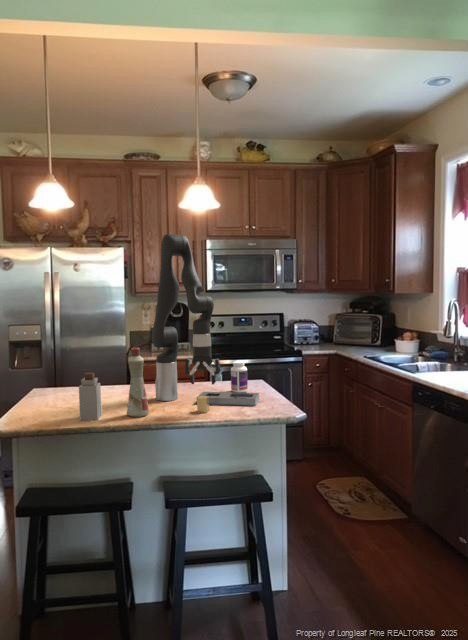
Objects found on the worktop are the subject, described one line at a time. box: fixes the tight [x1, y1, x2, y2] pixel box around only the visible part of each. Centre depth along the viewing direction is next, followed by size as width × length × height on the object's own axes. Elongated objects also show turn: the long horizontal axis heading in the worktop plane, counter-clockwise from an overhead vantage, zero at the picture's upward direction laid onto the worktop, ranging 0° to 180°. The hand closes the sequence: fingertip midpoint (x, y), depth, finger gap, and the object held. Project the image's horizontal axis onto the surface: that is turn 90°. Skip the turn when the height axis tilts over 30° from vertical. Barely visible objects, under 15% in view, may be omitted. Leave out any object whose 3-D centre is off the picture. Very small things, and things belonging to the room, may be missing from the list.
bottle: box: [126, 346, 150, 418], centre depth 206 cm, size 9×9×28 cm
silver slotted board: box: [196, 391, 260, 407], centre depth 228 cm, size 26×12×3 cm, turn 79°
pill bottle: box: [230, 360, 249, 393], centre depth 249 cm, size 8×8×14 cm
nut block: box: [196, 395, 210, 414], centre depth 211 cm, size 4×4×6 cm
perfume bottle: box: [78, 372, 102, 421], centre depth 203 cm, size 7×7×18 cm
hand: (203, 384), depth 210 cm, fingers open, 8 cm apart
